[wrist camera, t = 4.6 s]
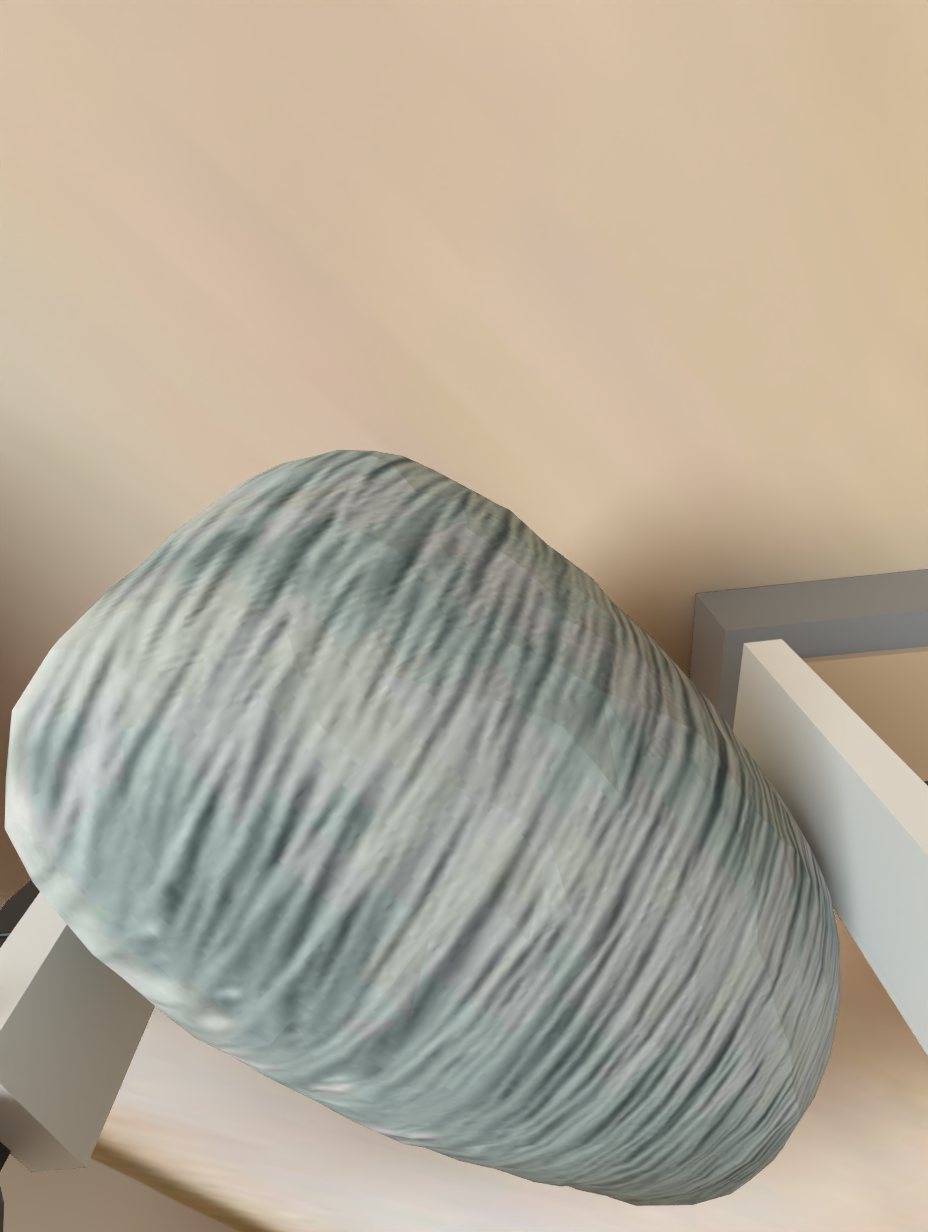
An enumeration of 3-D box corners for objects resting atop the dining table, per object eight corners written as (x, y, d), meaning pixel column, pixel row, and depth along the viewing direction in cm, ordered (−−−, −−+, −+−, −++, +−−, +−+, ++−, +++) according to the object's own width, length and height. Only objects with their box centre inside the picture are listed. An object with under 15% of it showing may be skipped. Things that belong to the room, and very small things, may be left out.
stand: (678, 837, 29) (701, 895, 27) (695, 593, 23) (728, 634, 20) (965, 815, 29) (1021, 873, 26) (1068, 554, 22) (1159, 591, 19)
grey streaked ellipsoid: (951, 864, 12) (1106, 1905, 4) (577, 875, 18) (393, 1307, 11) (590, 248, 9) (-291, 348, 2) (309, 512, 16) (-146, 758, 9)
